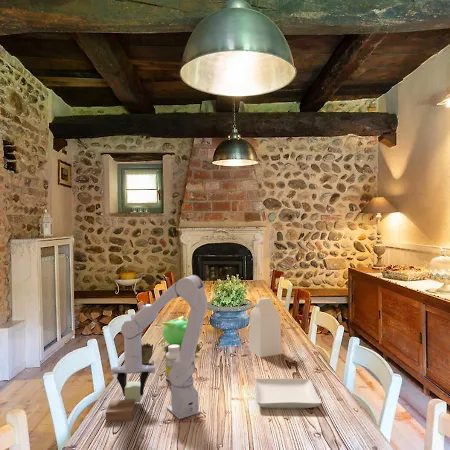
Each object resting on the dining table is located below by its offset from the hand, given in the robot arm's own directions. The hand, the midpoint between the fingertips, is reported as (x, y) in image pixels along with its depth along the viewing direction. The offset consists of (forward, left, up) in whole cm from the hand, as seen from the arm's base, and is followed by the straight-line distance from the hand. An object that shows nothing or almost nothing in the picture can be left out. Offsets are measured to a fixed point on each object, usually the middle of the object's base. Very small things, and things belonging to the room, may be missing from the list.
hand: (133, 394), depth 130 cm
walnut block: (-5, +6, -4) cm, 9 cm away
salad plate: (-26, -46, -4) cm, 53 cm away
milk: (+17, -73, -4) cm, 75 cm away
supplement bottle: (+13, -22, -4) cm, 26 cm away
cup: (+36, -19, -4) cm, 41 cm away
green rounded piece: (+50, -44, -4) cm, 67 cm away
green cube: (0, 0, -2) cm, 2 cm away
